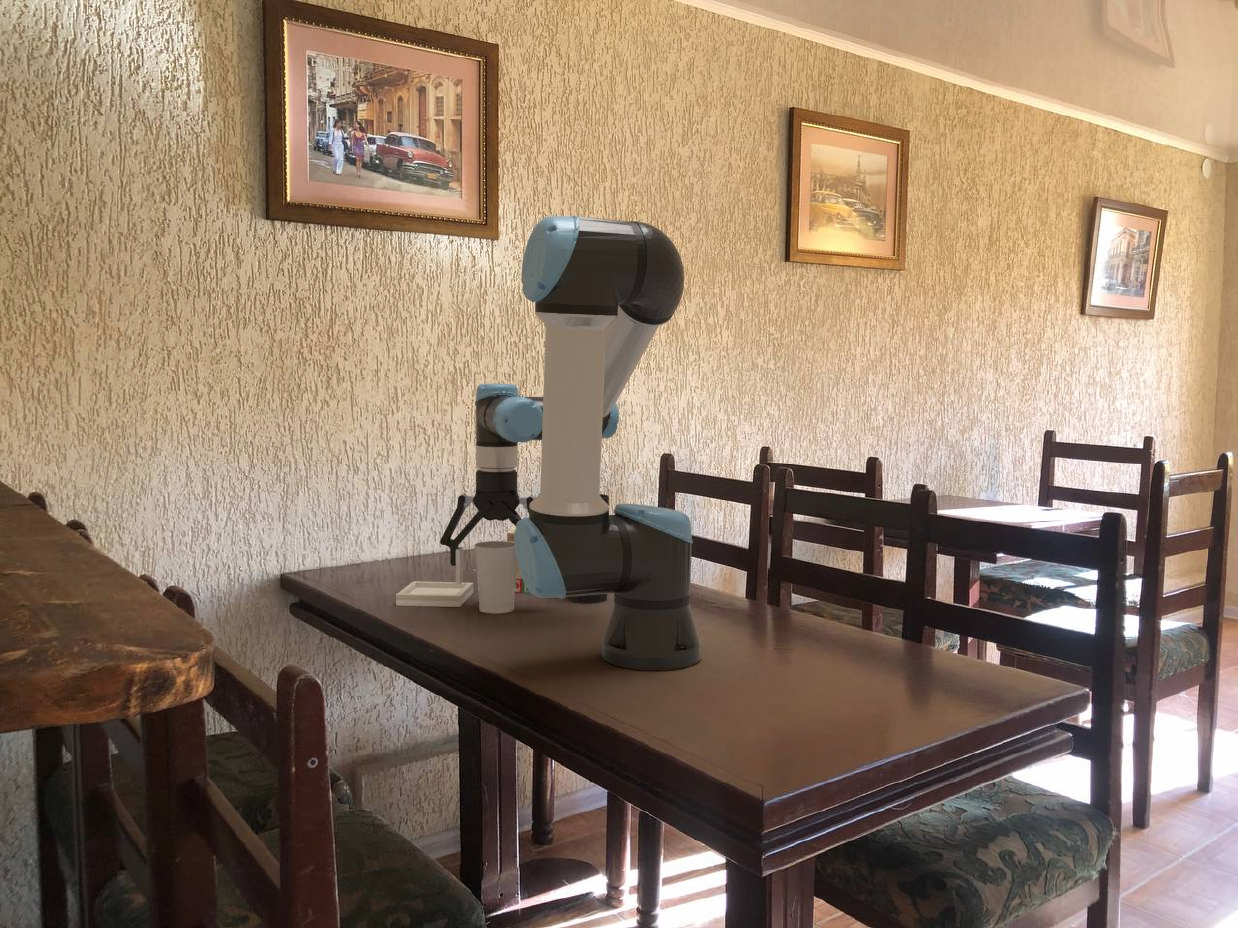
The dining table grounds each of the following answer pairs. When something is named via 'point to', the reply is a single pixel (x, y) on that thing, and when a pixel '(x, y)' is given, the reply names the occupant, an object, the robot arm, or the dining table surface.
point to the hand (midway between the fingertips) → (496, 584)
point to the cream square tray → (434, 594)
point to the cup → (496, 575)
